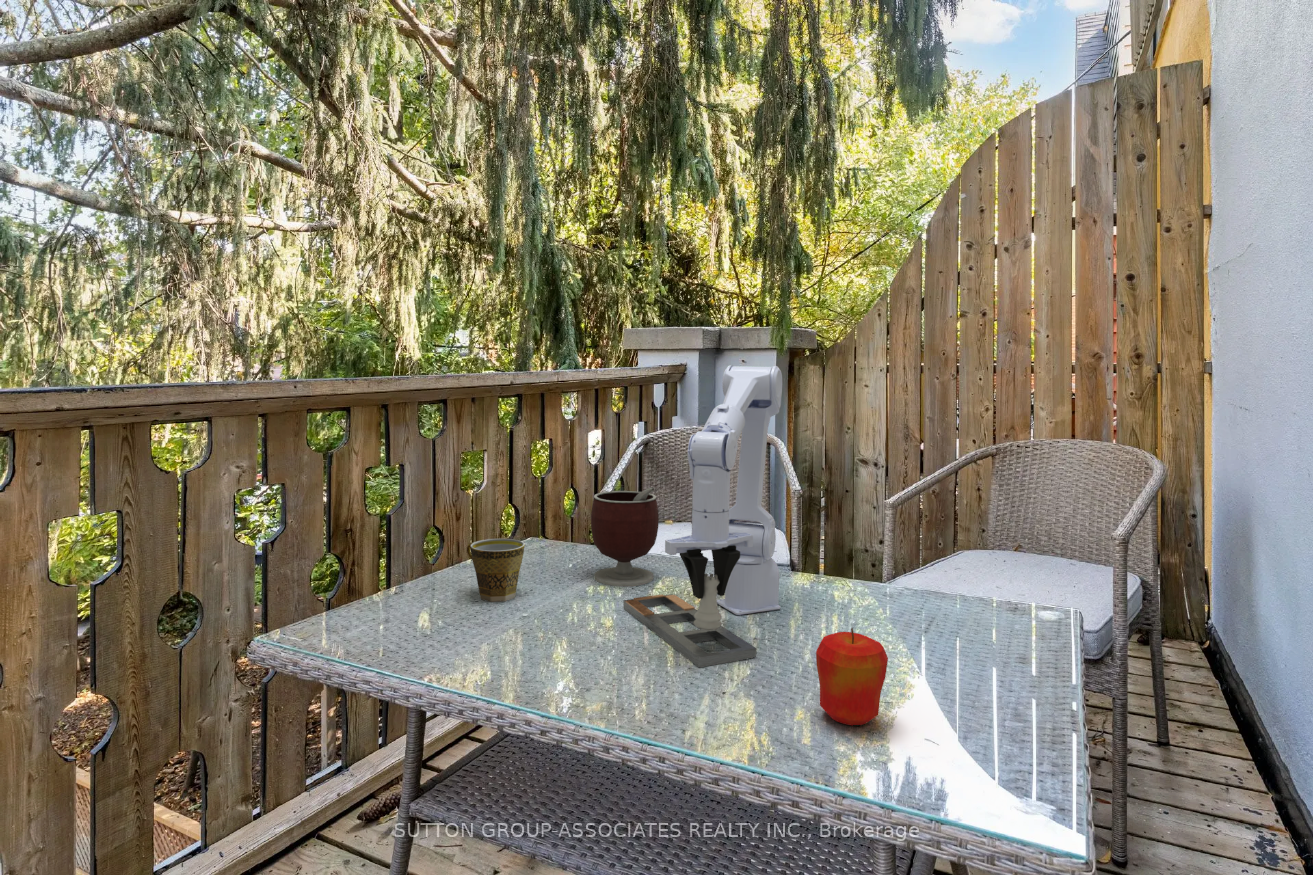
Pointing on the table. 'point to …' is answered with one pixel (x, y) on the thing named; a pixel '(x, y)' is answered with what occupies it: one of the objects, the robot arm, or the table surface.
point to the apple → (851, 676)
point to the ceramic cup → (497, 567)
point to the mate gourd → (624, 534)
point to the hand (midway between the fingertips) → (708, 595)
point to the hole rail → (687, 639)
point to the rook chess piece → (708, 606)
